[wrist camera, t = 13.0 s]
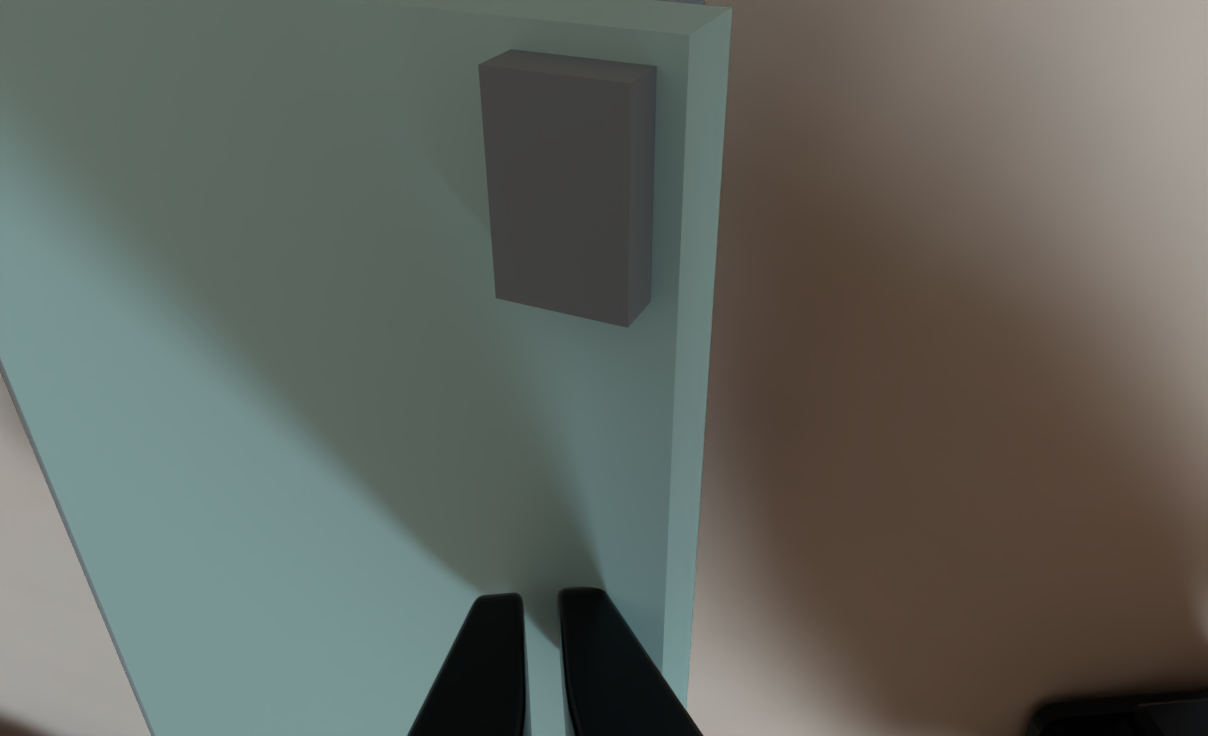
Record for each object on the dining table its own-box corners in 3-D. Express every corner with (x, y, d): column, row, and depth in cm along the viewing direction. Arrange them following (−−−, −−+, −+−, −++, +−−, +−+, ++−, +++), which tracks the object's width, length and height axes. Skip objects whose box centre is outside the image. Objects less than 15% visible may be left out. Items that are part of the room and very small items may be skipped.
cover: (672, 925, 12) (635, 1021, 11) (181, 701, 15) (120, 762, 14) (736, -44, 6) (666, -8, 5) (-121, -104, 9) (-264, -88, 8)
